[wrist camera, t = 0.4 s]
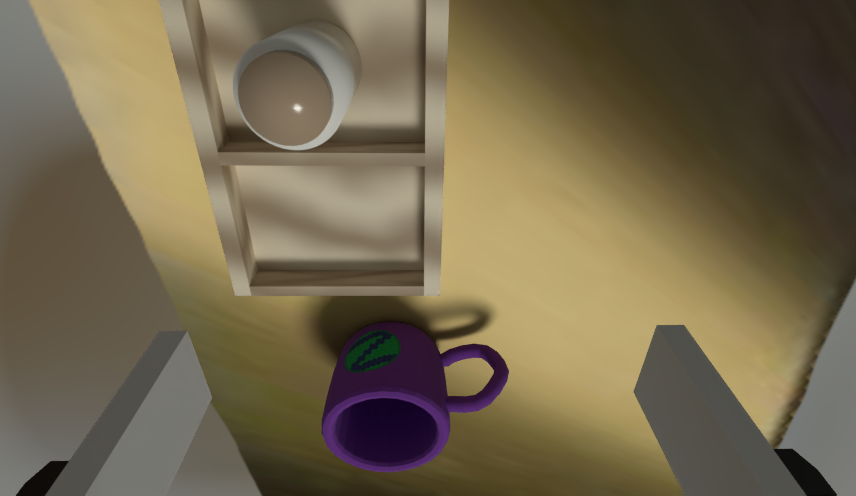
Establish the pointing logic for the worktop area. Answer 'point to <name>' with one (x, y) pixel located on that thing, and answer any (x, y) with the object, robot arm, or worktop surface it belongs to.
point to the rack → (324, 150)
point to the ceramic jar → (298, 84)
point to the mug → (398, 397)
